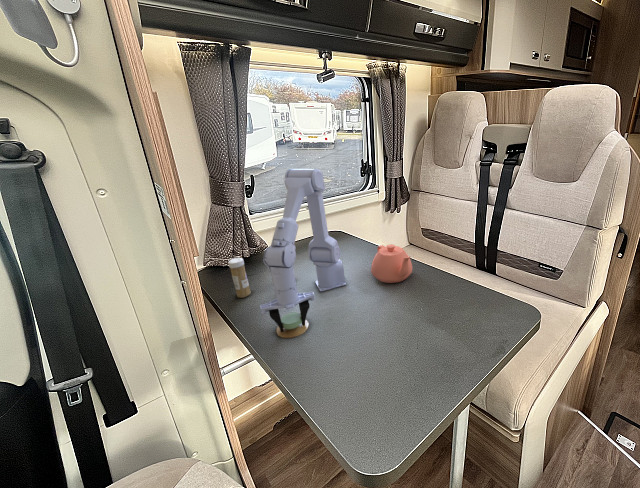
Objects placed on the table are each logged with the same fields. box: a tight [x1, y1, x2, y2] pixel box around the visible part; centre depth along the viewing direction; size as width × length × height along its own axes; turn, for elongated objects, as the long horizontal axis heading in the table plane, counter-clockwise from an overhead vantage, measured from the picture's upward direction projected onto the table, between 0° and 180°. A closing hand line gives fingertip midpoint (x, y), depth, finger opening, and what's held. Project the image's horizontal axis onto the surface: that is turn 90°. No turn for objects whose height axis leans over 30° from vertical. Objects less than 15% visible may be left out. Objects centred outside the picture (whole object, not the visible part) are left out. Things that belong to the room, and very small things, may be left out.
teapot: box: [370, 244, 413, 284], centre depth 118 cm, size 22×16×12 cm
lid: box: [280, 311, 302, 329], centre depth 92 cm, size 6×6×2 cm
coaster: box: [276, 318, 310, 339], centre depth 92 cm, size 9×9×1 cm
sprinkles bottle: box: [227, 257, 252, 299], centre depth 108 cm, size 5×5×13 cm
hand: (292, 326), depth 92 cm, fingers closed on lid, 5 cm apart
